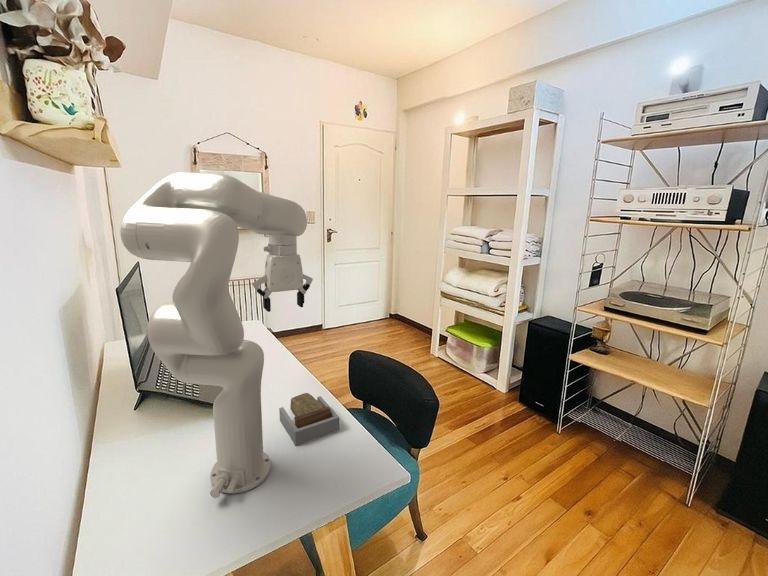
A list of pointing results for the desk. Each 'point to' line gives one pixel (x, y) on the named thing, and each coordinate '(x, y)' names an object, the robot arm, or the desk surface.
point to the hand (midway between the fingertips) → (284, 308)
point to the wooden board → (312, 417)
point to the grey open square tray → (310, 426)
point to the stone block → (304, 404)
